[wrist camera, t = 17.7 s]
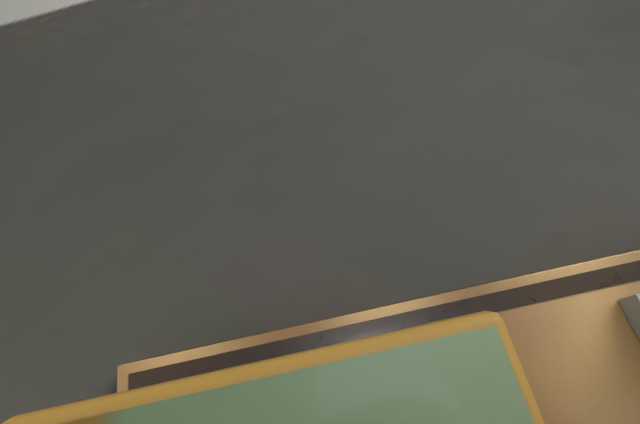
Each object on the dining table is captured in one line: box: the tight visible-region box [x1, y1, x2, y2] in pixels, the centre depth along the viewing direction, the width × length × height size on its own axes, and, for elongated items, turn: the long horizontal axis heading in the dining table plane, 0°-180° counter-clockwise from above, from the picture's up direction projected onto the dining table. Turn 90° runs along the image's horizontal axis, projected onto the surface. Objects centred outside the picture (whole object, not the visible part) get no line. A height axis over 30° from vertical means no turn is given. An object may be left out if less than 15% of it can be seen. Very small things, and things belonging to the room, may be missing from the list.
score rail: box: [117, 250, 640, 424], centre depth 12 cm, size 26×7×4 cm, turn 102°
